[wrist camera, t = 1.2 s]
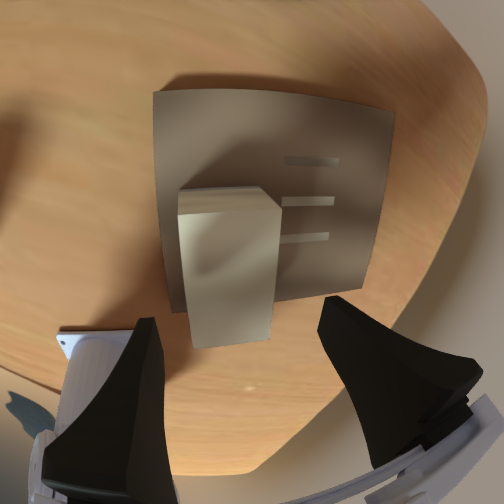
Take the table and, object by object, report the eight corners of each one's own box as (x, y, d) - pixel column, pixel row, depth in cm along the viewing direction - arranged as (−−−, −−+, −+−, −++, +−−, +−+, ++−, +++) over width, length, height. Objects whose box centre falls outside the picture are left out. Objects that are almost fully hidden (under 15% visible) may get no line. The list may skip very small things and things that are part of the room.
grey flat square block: (353, 278, 23) (361, 288, 22) (171, 299, 20) (172, 313, 18) (381, 111, 16) (394, 112, 15) (156, 93, 13) (153, 91, 12)
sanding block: (253, 299, 19) (269, 339, 16) (189, 306, 18) (193, 349, 15) (258, 186, 15) (282, 209, 12) (178, 189, 14) (177, 215, 11)
